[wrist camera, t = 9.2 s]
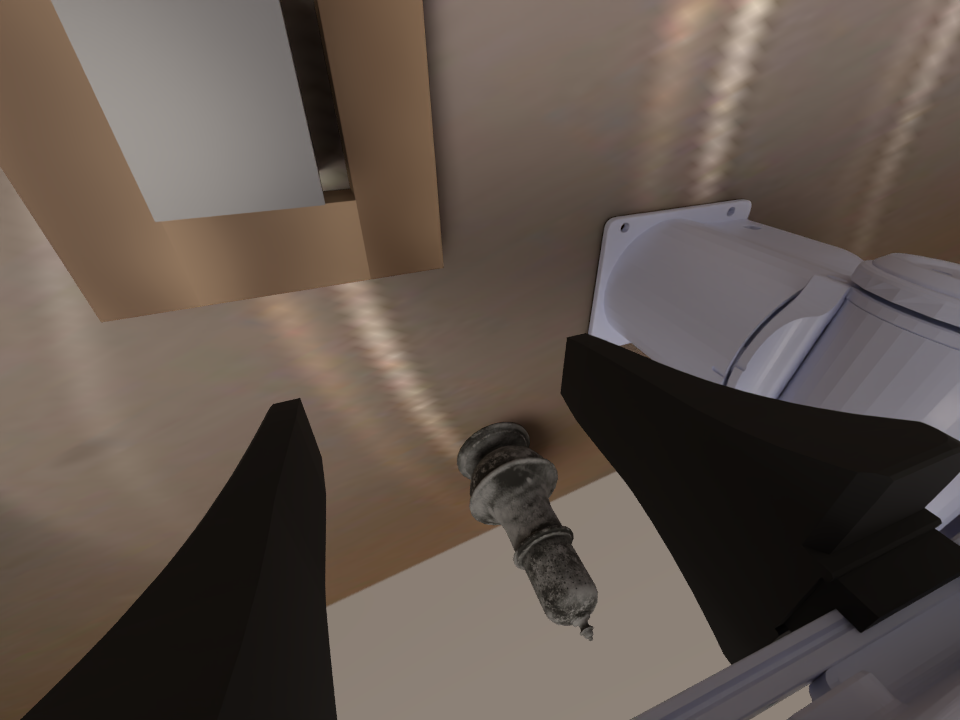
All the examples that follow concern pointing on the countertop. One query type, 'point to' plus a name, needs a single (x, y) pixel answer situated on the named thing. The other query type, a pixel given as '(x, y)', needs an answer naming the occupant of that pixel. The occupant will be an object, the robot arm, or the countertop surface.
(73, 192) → the socket frame
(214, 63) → the plug
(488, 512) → the weathered stone finial
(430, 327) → the countertop surface
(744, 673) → the robot arm
